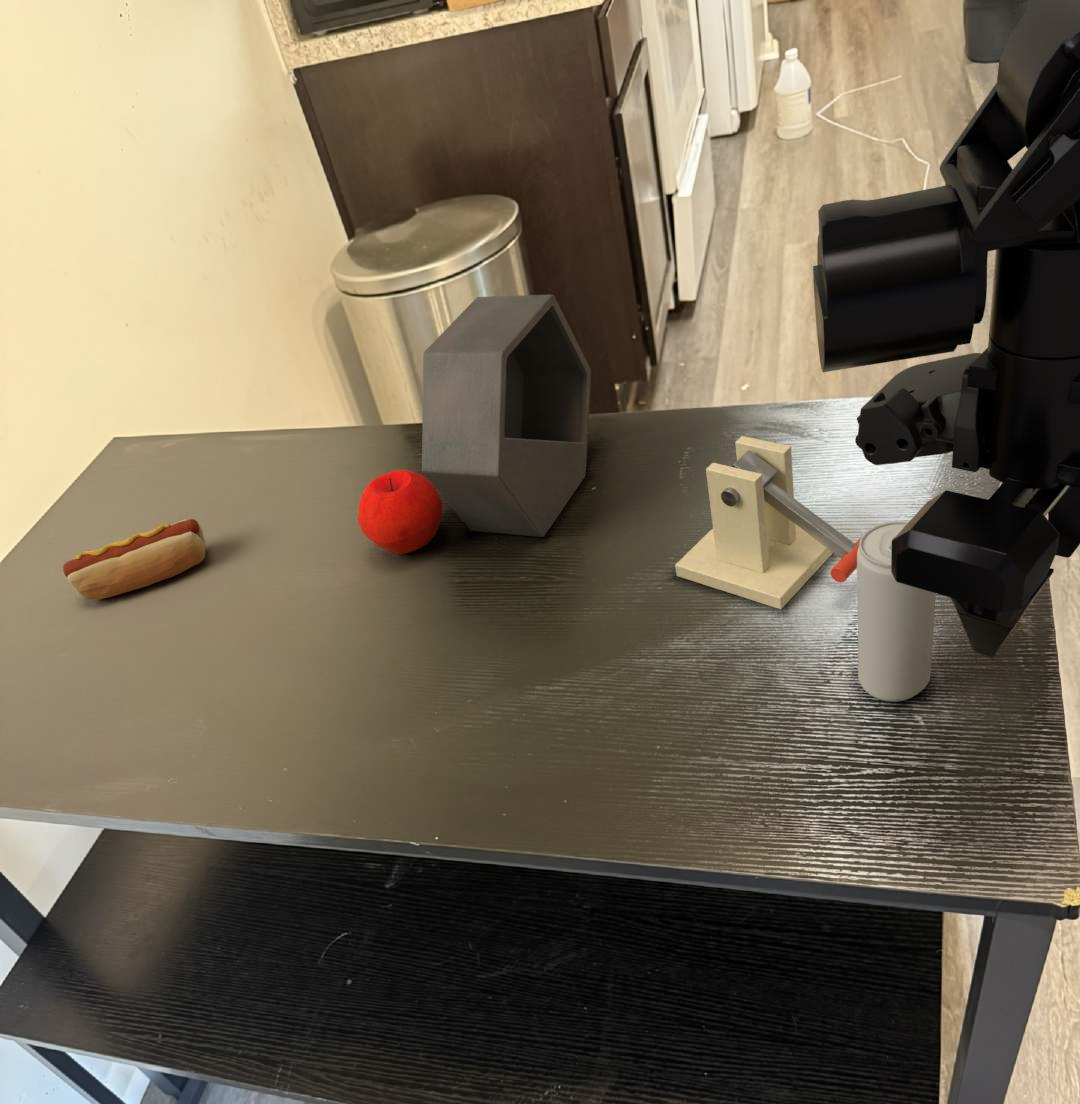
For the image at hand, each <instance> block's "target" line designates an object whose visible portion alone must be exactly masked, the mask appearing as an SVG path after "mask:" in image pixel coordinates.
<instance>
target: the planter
mask: <svg viewBox="0 0 1080 1104" xmlns="http://www.w3.org/2000/svg"><path fill="white" fill-rule="evenodd" d="M422 359H423V360H422V364H423V365H422V429H421V431H422V433H421V434H422V435H421V442H422V443H421V445H422V446H421V473H422V474H423V475H424V477H425V478H427V479H428V480H429V481H430V482H431V483H432V484H433V485H434V487H435V489H436V491H437V493H438V494H440V495H441V497H442V498H443V500H445V502H446V503H447V505H449V506H450V508H451V509H452V510H453V512H455V514H456V515H457V516H458V517H459V519H460V520H461V521H462V522H463V524H465V526H466V527H467V528H468V529H469V531H471V532H477V533H478V532H479V533H488V534H489V533H491V534H502V535H514V536H525V537H535V538H544V537H545V536H546V535H547V533H548V532H549V530H550V528H552V526H553V524H554V523H555V521H556V520H557V518H558V517H559V515H560V514H561V512H562V511H563V510H564V508H565V507H566V506H567V504H568V503H569V501H570V499H571V498H572V497H573V495H574V494H575V492H576V491H577V489H578V488H579V486H581V484H582V482H583V481H584V479H585V478H586V475H587V461H588V460H587V459H588V458H587V457H588V443H589V442H588V439H589V420H590V404H591V382H592V370H591V368H590V365H589V364H588V361H587V359H586V357H585V355H584V354H583V351H582V350H581V346H580V345H579V343H578V341H577V339H576V336H575V335H574V333H573V330H572V329H571V327H570V325H569V323H568V321H567V319H566V317H565V314H564V313H563V310H562V309H561V306H560V304H559V303H558V301H557V298H556V296H555V295H554V294H528V295H527V294H525V295H498V296H477V297H476V298H474V299H473V301H472V302H471V303H470V304H469V305H468V306H467V307H466V308H465V309H464V310H463V311H462V312H461V313H460V314H459V315H458V316H457V317H456V318H455V320H453V321H452V322H451V323H450V325H448V327H446V329H445V330H444V331H443V332H441V334H440V335H439V336H438V337H437V338H436V339H435V340H434V341H433V342H432V343H431V344H430V345H429V346H428V347H427V348H426V349H425V350H424V351H423V358H422Z"/></svg>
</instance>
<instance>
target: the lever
mask: <svg viewBox="0 0 1080 1104" xmlns="http://www.w3.org/2000/svg"><path fill="white" fill-rule="evenodd" d="M731 467H734V468H738V469H743V470H747V471H751V472H755V473H760V474H762V476H763V489H764V501H765V502H767V503H768V504H769V505H771V506H772V507H773V508H775V509H776V510H777V511H779V512H780V513H781V514H783V515H784V516H785V517H787V518H788V519H789V520H791V521H792V522H793V523H795V524H796V525H797V526H799V527H800V528H801V529H803V530H804V531H805V532H807V533H808V534H809V535H811V536H812V537H813V538H815V539H816V540H817V541H819V542H820V543H821V544H822V545H824V546H825V547H826V548H828V549H829V550H830V551H832V552H833V554H834V555H835V556H837V557H838V558H839V561H838V562H836V563H835V565H834V566H833V567H832V568H831V569H830V577H831V579H832V580H834V581H835V582H837V583H845V582H846V581H847V580H848V579H849V577H850V576H852V574H853V573H854V572H855V571H856V570H857V552H858V548H859V544H860V539H861V537H862V536H863V534H861V536H860V537H859V538H858V539H857V540H856V541H855V542H854V541H851V539H849V538H848V537H846V536H845V535H844V534H843V533H841V532H840V531H838V530H837V529H836V528H834V527H833V526H832V525H830V524H829V523H828V522H827V521H825V520H824V519H822V518H821V517H819V515H817V514H816V513H814V512H813V511H812V510H810V509H809V508H808V507H807V506H805V505H803V504H802V503H801V502H800V501H799V500H797V499H796V498H795V497H794V498H793V497H791V496H790V495H789V494H787V493H786V492H785V491H783V490H782V489H781V488H779V487H778V486H777V485H775V484H774V483H773V482H772V480H773V478H774V477H775V475H776V473H777V470H776V469H774V468H773V467H772V466H770V465H769V464H768V463H766V462H765V461H764V460H762V459H761V458H760V457H758V456H757V455H756V454H754V453H753V452H751V451H750V450H748V451H747V452H746V453H745V454H744V455H743V456H742V457H741V458H740V459H738V460H737V459H736V461H735V462H734V463H733V464H732V466H731Z"/></svg>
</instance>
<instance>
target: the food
mask: <svg viewBox="0 0 1080 1104" xmlns="http://www.w3.org/2000/svg"><path fill="white" fill-rule="evenodd" d="M206 550H207V549H206V540H205V536H204V531H203V529H202V526H201V525H200V523H198V520H196V519H195V518H185V519H181V520H179V521H176V522H174V523H172V524H170V523H168V522H167V523H162V524H160V525H158V526H157V527H156V528H154V529H151V530H149V531H143V532H139V533H136V534H133V535H130V536H129V537H128V538H125V539H123V540H120V541H114V542H113V541H112V542H110V543H108V544H106V545H104V546H102V547H100V548H97V549H93V550H86V551H83V552H81V553H78V554H76V556H75V557H73V558H72V559H71V560H68V561H66V562H65V563H63V566H62V572H63V574H64V576H65V577H66V578H67V581H68V583H69V584H70V585H71V586H72V588H73V589H74V591H76V593H77V594H78V595H80V596H82V597H83V598H84V599H89V600H95V601H96V600H97V601H99V600H103V599H107V598H111V597H115V596H118V595H121V594H125V593H129V592H131V591H135V590H139V589H142V588H146V587H149V586H151V585H153V584H156V583H159V582H160V581H164V580H167V579H170V578H173V577H175V576H178V575H181V574H182V573H183V572H185V571H187V570H189V569H191V568H192V567H194V566H197V565H199V564H200V563H202V562H203V560H204V559H205V557H206Z"/></svg>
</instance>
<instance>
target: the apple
mask: <svg viewBox="0 0 1080 1104" xmlns="http://www.w3.org/2000/svg"><path fill="white" fill-rule="evenodd" d="M442 517H443V500H442V498H441V496H440V495H439V492H438V490H437V489H436V488H435V487H434V485H433V484H432V483H431V482H430V481H429V479H428V478H427V477H426V476H425V475H424V474H423V475H422V474H420V473H417V472H415V471H412V470H409V469H396V470H392V471H390V472H387V473H383V474H380V475H378V476H376V477H375V478H374V479H372V480H370V482H369V483H368V484H367V485H366V487H365V488H364V490H363V492H362V494H361V497H360V499H359V502H358V514H357V522H358V526H359V528H360V530H361V532H362V534H364V535H365V536H366V538H367V539H368V540H370V541H371V542H373V543H374V544H375V545H376V546H378V547H379V548H381V549H384V550H385V551H387V552H389V553H393V554H398V555H404V554H409V553H411V552H415V551H417V550H419V549H421V548H423V547H425V546H427V545H428V544H429V543H430V542H431V541H432V540H433V538H434V537H435V535H436V534H437V531H438V529H439V528H440V524H441V521H442Z"/></svg>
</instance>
